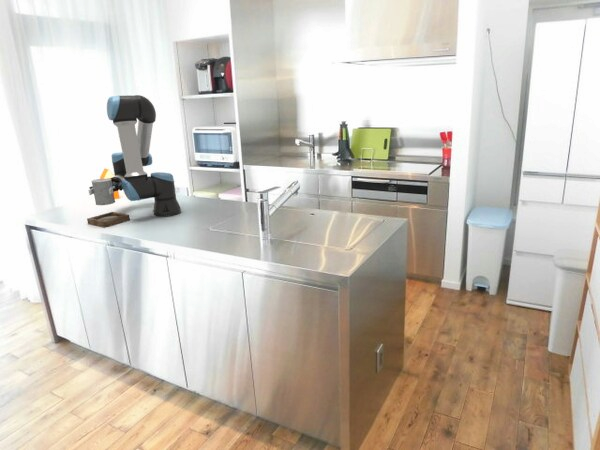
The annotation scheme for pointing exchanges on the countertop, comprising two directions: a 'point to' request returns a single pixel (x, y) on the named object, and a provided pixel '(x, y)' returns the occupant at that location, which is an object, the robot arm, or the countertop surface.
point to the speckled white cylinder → (103, 191)
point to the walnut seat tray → (108, 219)
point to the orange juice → (108, 174)
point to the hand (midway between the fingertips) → (99, 192)
